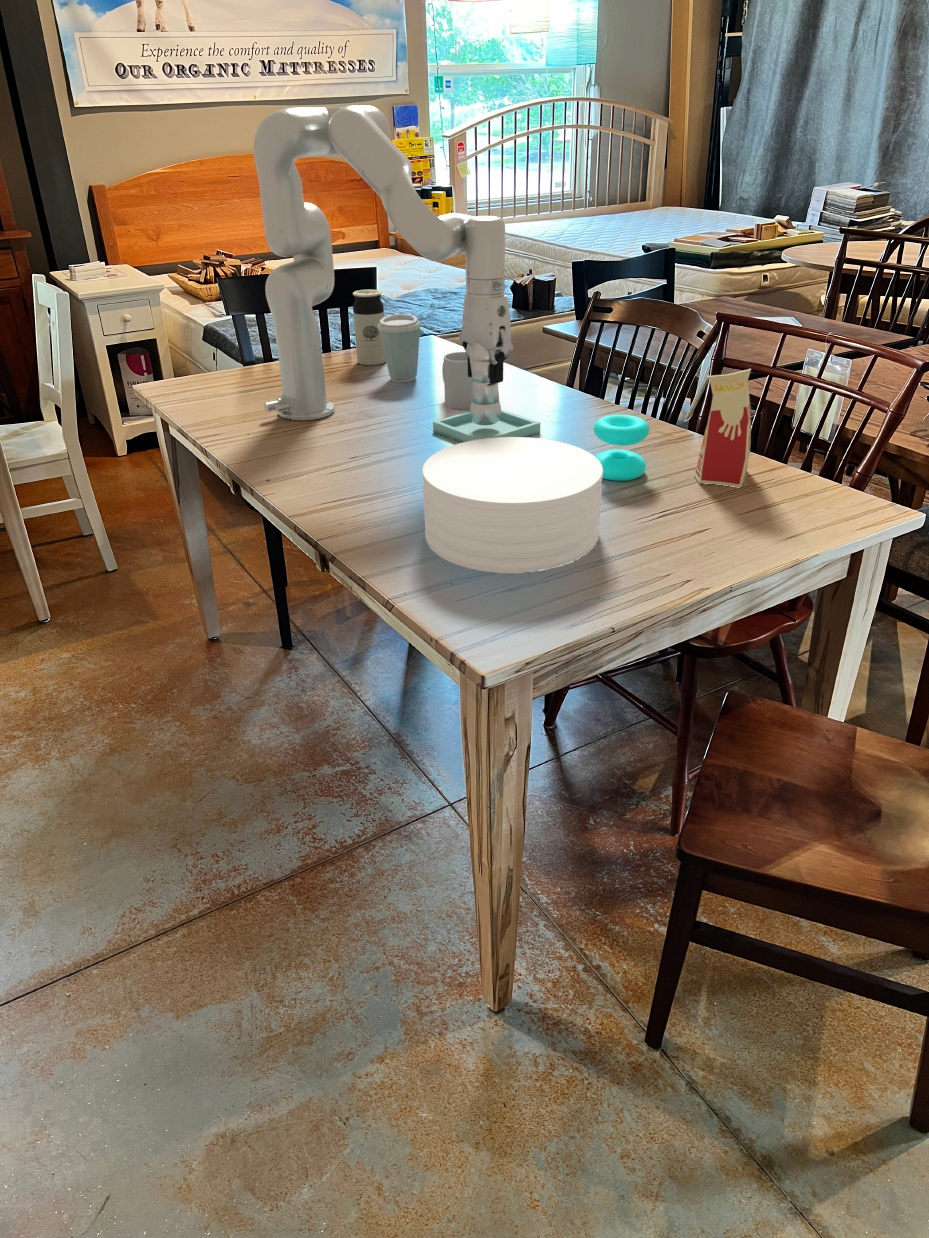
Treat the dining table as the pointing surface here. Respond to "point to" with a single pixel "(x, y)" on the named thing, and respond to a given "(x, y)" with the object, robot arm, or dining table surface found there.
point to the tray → (485, 427)
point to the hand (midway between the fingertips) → (485, 378)
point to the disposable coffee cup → (400, 345)
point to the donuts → (621, 433)
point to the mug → (457, 381)
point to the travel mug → (368, 327)
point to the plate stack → (512, 503)
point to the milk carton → (726, 432)
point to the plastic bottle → (483, 388)
